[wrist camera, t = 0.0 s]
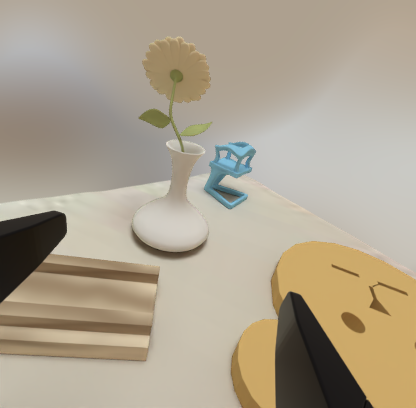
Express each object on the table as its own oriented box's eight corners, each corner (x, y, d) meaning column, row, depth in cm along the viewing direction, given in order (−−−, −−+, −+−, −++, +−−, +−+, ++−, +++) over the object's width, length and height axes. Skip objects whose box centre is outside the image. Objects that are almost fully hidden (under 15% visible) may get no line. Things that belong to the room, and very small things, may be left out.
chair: (216, 183, 58) (229, 133, 52) (247, 198, 54) (265, 146, 48) (197, 192, 52) (209, 135, 46) (230, 209, 48) (248, 151, 42)
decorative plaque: (263, 228, 46) (217, 412, 20) (268, 217, 44) (226, 397, 19) (448, 298, 40) (721, 679, 14) (460, 287, 39) (782, 683, 13)
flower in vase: (216, 230, 41) (267, 61, 29) (185, 272, 31) (241, 45, 19) (150, 201, 44) (171, 38, 32) (104, 232, 34) (108, 14, 22)
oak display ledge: (145, 360, 21) (149, 337, 20) (-52, 350, 19) (-66, 323, 17) (157, 280, 29) (160, 259, 28) (18, 266, 27) (12, 242, 25)
